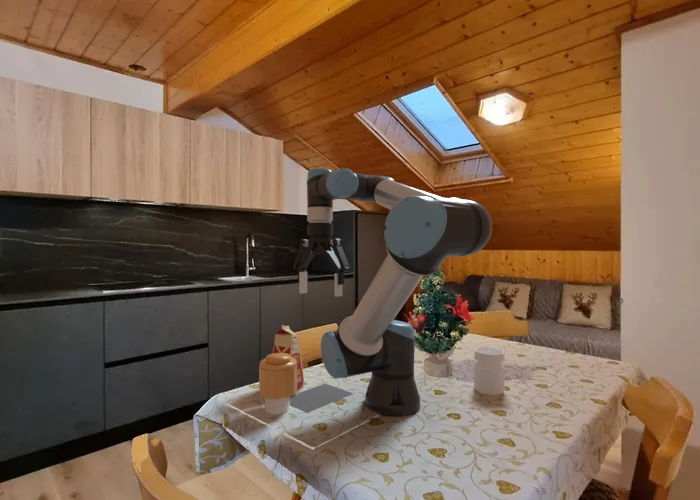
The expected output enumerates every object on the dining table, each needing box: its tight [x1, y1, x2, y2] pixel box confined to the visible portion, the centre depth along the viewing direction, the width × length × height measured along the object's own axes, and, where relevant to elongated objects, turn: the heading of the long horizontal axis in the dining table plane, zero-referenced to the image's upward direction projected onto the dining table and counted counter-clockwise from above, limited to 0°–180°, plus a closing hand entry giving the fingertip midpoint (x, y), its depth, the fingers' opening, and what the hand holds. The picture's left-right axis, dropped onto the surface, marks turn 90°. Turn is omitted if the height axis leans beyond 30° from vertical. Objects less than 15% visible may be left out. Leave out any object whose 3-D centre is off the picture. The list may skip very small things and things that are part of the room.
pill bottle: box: [473, 346, 505, 396], centre depth 120 cm, size 9×9×12 cm
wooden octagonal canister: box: [258, 353, 297, 399], centre depth 104 cm, size 10×10×9 cm
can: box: [264, 397, 291, 415], centre depth 104 cm, size 6×6×12 cm
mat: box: [290, 383, 354, 414], centre depth 113 cm, size 12×18×1 cm, turn 138°
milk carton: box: [271, 324, 306, 396], centre depth 119 cm, size 9×9×20 cm
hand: (320, 294), depth 116 cm, fingers open, 13 cm apart
